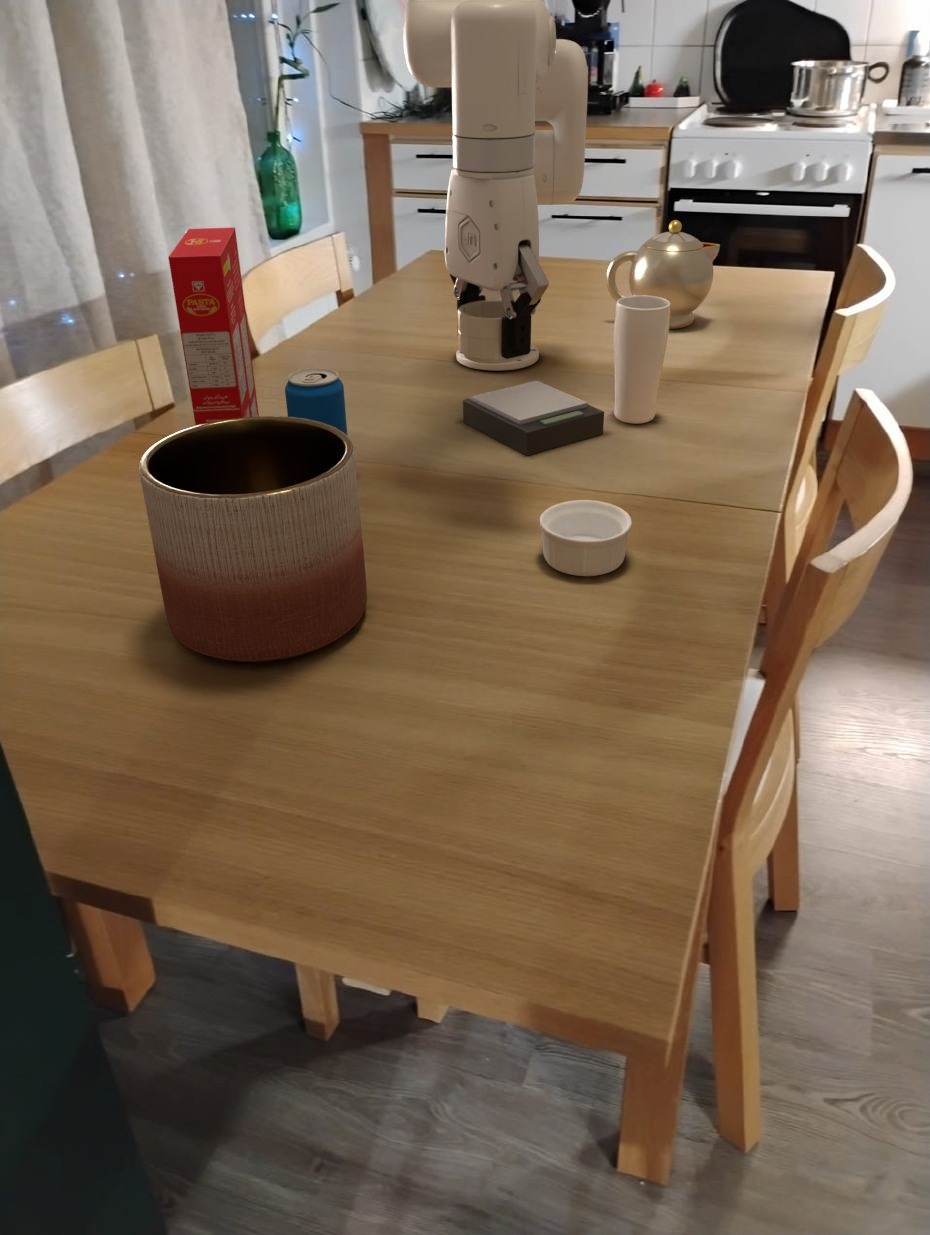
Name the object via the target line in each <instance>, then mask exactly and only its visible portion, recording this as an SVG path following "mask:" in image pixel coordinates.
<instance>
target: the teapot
mask: <svg viewBox="0 0 930 1235" xmlns="http://www.w3.org/2000/svg"><path fill="white" fill-rule="evenodd" d="M682 227H683V226H682V222H681V221H679V220H678V219H674V220H671V221H670V222H669V224H668V230H669V231H665V232H661V233H658V234H656V235H654V236H652V237H650V238H648V239H647V240H646V241H645V242H644V243H643V244H641V246H640V247H639V248H638V250H632V251H631V250H630V251H625V252H622V253H620V254H618V255H617V256H616V257H614V258H613V259H612V260H611V262H610V263H609V265H608V267H607V270H606V275H605V278H606V279H605V284H606V288H607V291H608V293H609V295H610V297H611V298H612V299H613V301H615V302H617V301H618V300H619V299H620V298H623V297H627V295H624V294H622V293H621V292H620V290H619V288H618V287H617V282H616V274H617V270H618V269H619V267H620V266H621V265H622V264H624V263H627V262H631V263H630V266H629V271H628V285H629V290H630V293H631V296H638V295H644V296H655V297H660V298H664V299H666V300H668V301H669V302H670V304H671V305H670V323H669V330H676V329H684V328H686V327H688V326H690V325H692V324H693V322H694V319H695V316H694V313H693V312H694V311H695V310H697V309H698V308H699V307H700V306H701V305H702V304H703V302H705V300H706V298H707V297H708V295H709V293H710V291H711V289H712V285H713V281H714V264H713V263H714V260H715V259H716V258H717V256H718V254H719V251H720V249H721V248H720V247H721V244H719V243H713V242H704V241H700V240H699V239H698V238H696V237H695V236H693V235H691V234H689V233H686V232H683V231H681V230H682Z"/></svg>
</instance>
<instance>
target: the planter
mask: <svg viewBox="0 0 930 1235" xmlns="http://www.w3.org/2000/svg"><path fill="white" fill-rule="evenodd" d="M356 463H357V462H356V451H355V446H354V442H353V441H352V439H351V438H350V437H349V436H348V434H347V435H346V434H345V433H343V432H342V431H340V430H339V429H337V428H335V427H333V426H330V425H328V424H325V423H321V422H318V421H313V420H309V419H303V418H295V417H288V416H283V415H282V416H281V415H259V416H254V417H241V418H233V419H226V420H220V421H215V422H210V423H206V424H202V425H198V426H196V425H195V426H192V427H188V428H185V429H182V430H179V431H177V432H174V433H173V434H170V435H168V436H166V437H164V438H162V439H161V440H159V441H158V442H156V443H154V444H152V446H150V447H149V448H148V449H147V450H146V451H145V452H144V453H143V455H142V456H141V458H140V460H139V465H138V472H139V478H140V483H141V488H142V493H143V499H144V504H145V509H146V515H147V520H148V525H149V531H150V536H151V541H152V546H153V552H154V558H155V564H156V569H157V574H158V575H157V576H158V580H159V586H160V591H161V596H162V602H163V605H164V611H165V615H166V619H167V623H168V626H169V629H170V630H171V632H172V634H173V636H174V637H175V639H177V640H178V641H179V642H180V643H181V644H183V645H184V646H185V647H186V648H188V649H190V650H192V651H194V652H196V653H199V654H201V655H203V656H207V657H210V658H214V659H218V660H223V661H228V662H235V663H236V662H238V663H265V662H274V661H281V660H288V659H292V658H296V657H300V656H303V655H306V654H309V653H312V652H315V651H317V650H320V649H322V648H324V647H326V646H328V645H330V644H332V643H334V642H335V641H337V640H338V639H340V638H342V637H343V636H344V635H345V634H347V633H349V631H350V630H352V629H353V628H354V627H355V626H356V625H357V624H358V622H359V621H360V620H361V618H362V616H363V615H364V613H365V610H366V607H367V600H368V589H367V588H368V585H367V572H366V563H365V562H366V561H365V551H364V541H363V532H362V531H363V530H362V520H361V511H360V499H359V490H358V489H359V488H358V475H357V464H356Z"/></svg>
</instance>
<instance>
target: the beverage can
mask: <svg viewBox="0 0 930 1235" xmlns="http://www.w3.org/2000/svg"><path fill="white" fill-rule="evenodd" d="M339 377H340V374H339V372H338V371H336V370H334V369H331V368H327V367H326V368H325V367H307V368H302V369H298V370H295V371H293V372H291V373H289V374H288V376H287V383H286V384H285V387H284V395H285V402H286V411H287V417H295V418H303V419H309V420H313V421H318V422H321V423H325V424H328V425H330V426H333V427H335V428H337V429H339V430H340V431H342V432H343V433H345V434H346V435H347V436H348V425H347V412H346V411H347V410H346V401H345V388H344V383H343V381H342V380H341V379H340V378H339Z"/></svg>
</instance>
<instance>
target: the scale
mask: <svg viewBox="0 0 930 1235" xmlns="http://www.w3.org/2000/svg"><path fill="white" fill-rule="evenodd" d="M462 422H463V423H465V424H466V425H469V426H470V427H473V428H474V429H476V430H477V431H480V432H482V433H484V434H485V435H487V436H489V437H491V438H492V439H495V440H497V441H498V442H501V443H503V444H504V445H507V446H508V447H510V448H512V449H514V450H516V451H517V452H520V453H521V454H523V455H524V456H527V457H528V456H532V455H535V454H538V453H542V452H546V451H549V450H552V449H556V448H559V447H562V446H566V445H569V444H570V445H571V444H574V443H577V442H581V441H585V440H587V439H591V438H595V437H597V436H601V435H604V425H605V424H604V422H605V411H604V410H603V409H602V410H601V409H600V408H597V407H594V406H592V405H590V404H589V403H588V402H587V401H585V400H583V399H581V398H578V397H576V396H573V395H571V394H569V393H567V392H565V391H562V390H560V389H557V388H555V387H553V386H551V385H548V384H545V383H544V382H542V381H539V380H533V381H528V382H525V383H521V384H516V385H513V386H508V387H503V388H500V389H496V390H492V391H487V392H483V393H479V394H475V395H471V397H469V398H465V399H463V400H462Z"/></svg>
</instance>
